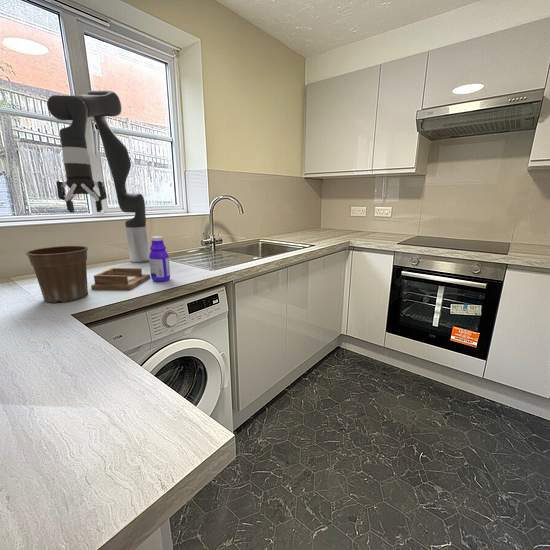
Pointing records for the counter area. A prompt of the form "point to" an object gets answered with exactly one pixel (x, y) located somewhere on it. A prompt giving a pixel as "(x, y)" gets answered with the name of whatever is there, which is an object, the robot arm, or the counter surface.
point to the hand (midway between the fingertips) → (85, 212)
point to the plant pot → (60, 272)
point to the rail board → (119, 279)
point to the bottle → (159, 260)
